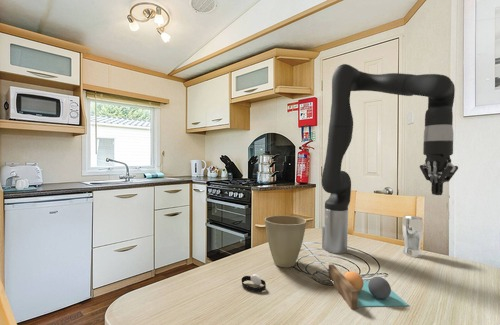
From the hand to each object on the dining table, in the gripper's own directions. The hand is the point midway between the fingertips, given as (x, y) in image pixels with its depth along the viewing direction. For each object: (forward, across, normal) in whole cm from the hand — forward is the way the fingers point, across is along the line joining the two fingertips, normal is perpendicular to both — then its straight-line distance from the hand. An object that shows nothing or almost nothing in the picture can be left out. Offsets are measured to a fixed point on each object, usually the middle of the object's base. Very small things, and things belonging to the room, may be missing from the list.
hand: (436, 194), depth 79 cm
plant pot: (+27, +13, +46) cm, 55 cm away
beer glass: (+27, +20, -7) cm, 35 cm away
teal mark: (+27, -7, +26) cm, 38 cm away
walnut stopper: (+27, -7, +34) cm, 44 cm away
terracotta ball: (+24, -7, +30) cm, 39 cm away
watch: (+28, -4, +58) cm, 65 cm away
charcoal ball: (+24, -10, +24) cm, 36 cm away
